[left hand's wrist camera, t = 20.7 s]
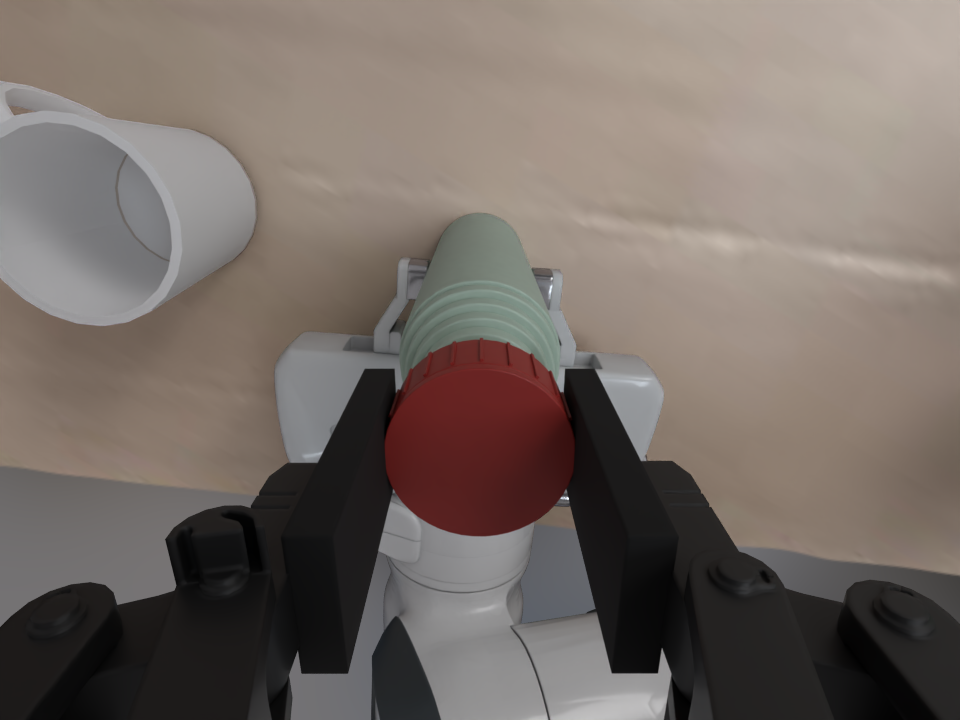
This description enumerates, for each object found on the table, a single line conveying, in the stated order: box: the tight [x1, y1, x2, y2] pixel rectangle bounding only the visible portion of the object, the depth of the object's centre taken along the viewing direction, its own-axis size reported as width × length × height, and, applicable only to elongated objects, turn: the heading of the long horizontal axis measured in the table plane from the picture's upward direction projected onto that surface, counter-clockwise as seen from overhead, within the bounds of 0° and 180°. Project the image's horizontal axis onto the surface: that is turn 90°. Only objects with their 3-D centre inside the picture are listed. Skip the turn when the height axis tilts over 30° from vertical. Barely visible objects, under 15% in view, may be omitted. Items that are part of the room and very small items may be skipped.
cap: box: [384, 338, 575, 537], centre depth 14 cm, size 4×4×2 cm
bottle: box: [399, 213, 560, 383], centre depth 24 cm, size 5×5×23 cm
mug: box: [0, 81, 257, 326], centre depth 29 cm, size 11×9×10 cm
